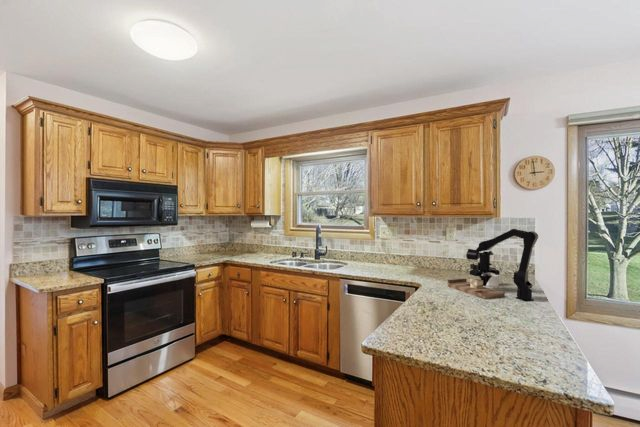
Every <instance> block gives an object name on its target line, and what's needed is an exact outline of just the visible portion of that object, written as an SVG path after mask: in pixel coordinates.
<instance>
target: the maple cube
mask: <svg viewBox="0 0 640 427" xmlns="http://www.w3.org/2000/svg"><path fill="white" fill-rule="evenodd" d="M469 283H470V287H472V288H475V289H482V288H483V287H484V286H483V280H481V278H470V281H469Z"/></svg>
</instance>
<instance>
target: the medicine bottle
mask: <svg viewBox="0 0 640 427" xmlns="http://www.w3.org/2000/svg"><path fill="white" fill-rule="evenodd" d="M490 269H496V270H497V268H495V267H492V266H490ZM490 274H491V275H492V277H491V278H490V279H489V281H488V283H487V284H486V286H487V287H500V275H496V274H495V273H490Z"/></svg>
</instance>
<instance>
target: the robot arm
mask: <svg viewBox="0 0 640 427" xmlns="http://www.w3.org/2000/svg"><path fill="white" fill-rule="evenodd" d="M513 237H516V238H517V237H518V238H520V239H523V241H522V242H523V250H522V255H521V259H520V263H519V267H518V270H516V271H514V272H513V277H512V280H513V283H514V285H516V287H517V290H516V296H515V299H518V300H520V301H524V302H528V301H529V302H530V301H534V300H535V299H533V290H532V288H533V284H532V283H531V282H530V281H529V272H528V270H529V266H530V263H531V262H530V261H531V257H532V252H533V248H534V246H535V245H536V243H537V241H538V239H539V234H538V233H537V232H536V231H534V230H533V231H526V230H521V229H518V228H511V229H510V230H508V231H506V232H504V233H502V234H500V235H498V236H496V237H494V238H491V239H487V240H484V241H481V242H479V243H478V247H477V248H476V249H472V248H467V251H466V254H465V256H466V259H467V260H470V261H471V260H473V261H478V260H479V262H477V264H475V263H471V264H469V265H470V266H469V267H470V269H471V270H469V273H468V274H469V275H471V276H473V277H478V278H479V279H480V280H483V287H486V286H487V285H486V284H487V283H488V281H489V279H490V278H491V277H492V275H491V274H490V273H495V275H498V276H500V271H499V269H497V268H496V269H490V267H491V266H492V263H491V256H493V255H495V253H493V252H492V250H491V249H492V248H494V247H495V246H497V245H498V244H500V243H502V242H504V241H506V240H509V239H511V238H513Z"/></svg>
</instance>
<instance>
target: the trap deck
mask: <svg viewBox="0 0 640 427" xmlns="http://www.w3.org/2000/svg"><path fill="white" fill-rule="evenodd" d="M447 287H449V288H451V289H454V290H456V291H459V292H463V293H465V294H468V295H471V296H474V297H476V298H480V299H482V300H493V299H500V298H506V297H505V296H506V295H505V294H506V293H505V292H502V291H499V290H495V289H492V288H489V287H486V286H483V288H482V289H475V288H472V287H470V281H468V278H456V279H455V278H454V279H447Z"/></svg>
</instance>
